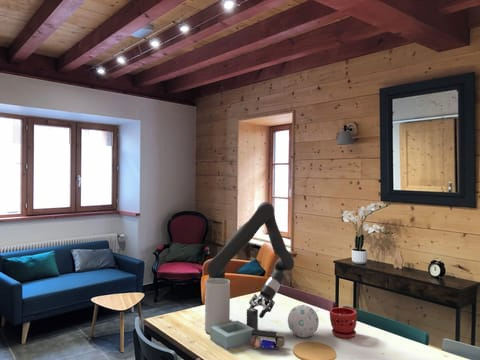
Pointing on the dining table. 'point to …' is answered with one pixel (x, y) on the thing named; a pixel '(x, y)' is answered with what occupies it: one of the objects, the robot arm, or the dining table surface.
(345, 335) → the plant pot
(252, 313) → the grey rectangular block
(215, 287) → the cylinder vase
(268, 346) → the figurine character
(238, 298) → the dining table surface
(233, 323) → the well block
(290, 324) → the puzzle ball
